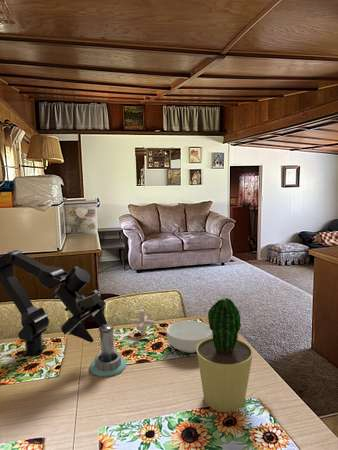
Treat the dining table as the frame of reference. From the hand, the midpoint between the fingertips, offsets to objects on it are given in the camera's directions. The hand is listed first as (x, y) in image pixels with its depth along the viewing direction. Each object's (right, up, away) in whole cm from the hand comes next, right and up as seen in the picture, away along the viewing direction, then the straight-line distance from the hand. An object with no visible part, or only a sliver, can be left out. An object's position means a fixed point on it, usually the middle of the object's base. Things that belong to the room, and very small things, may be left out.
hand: (100, 335), depth 111 cm
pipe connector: (+12, -7, +24) cm, 27 cm away
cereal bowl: (+30, -9, +12) cm, 34 cm away
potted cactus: (+38, -12, -17) cm, 44 cm away
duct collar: (+2, -11, +1) cm, 11 cm away
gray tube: (+2, -10, +1) cm, 10 cm away
